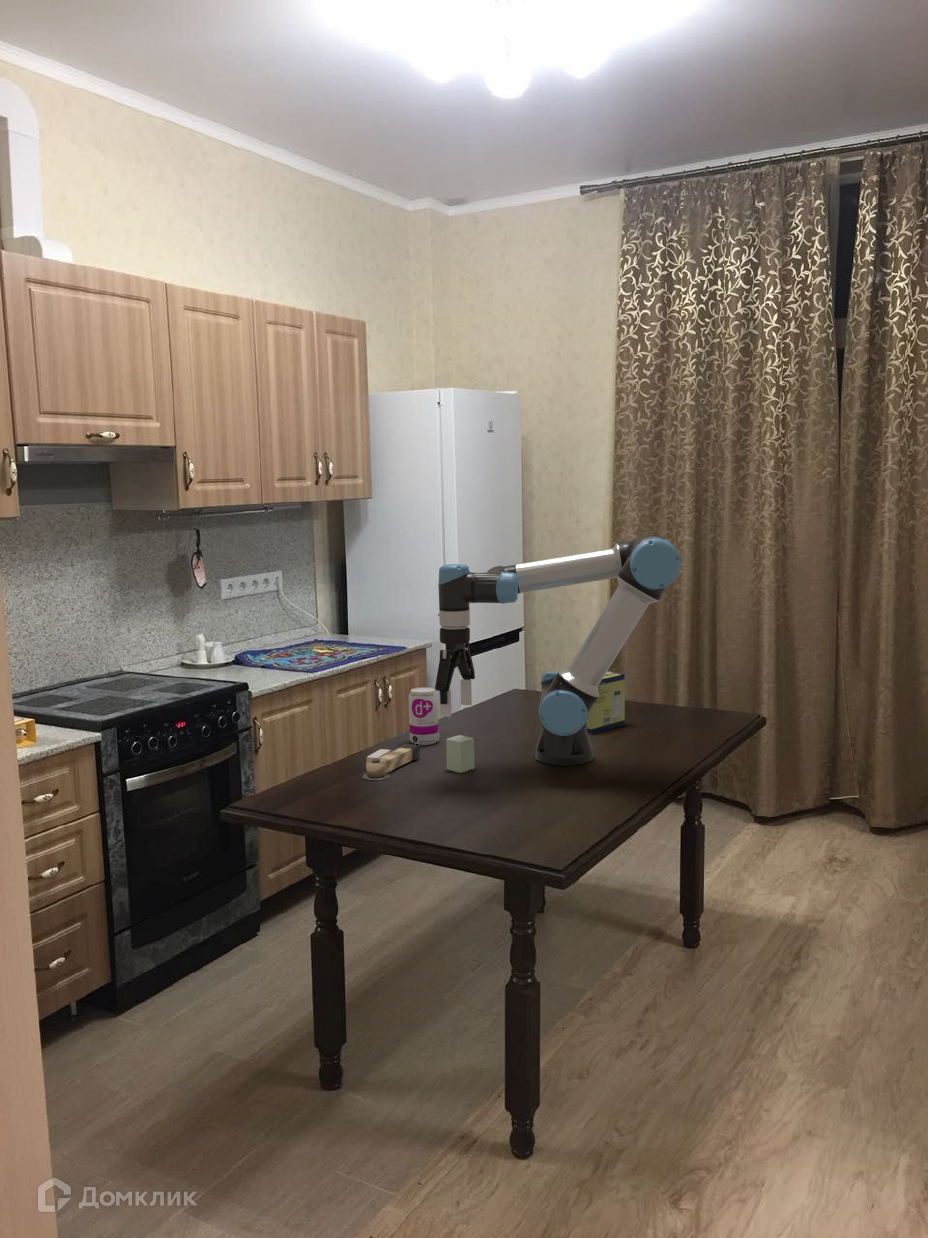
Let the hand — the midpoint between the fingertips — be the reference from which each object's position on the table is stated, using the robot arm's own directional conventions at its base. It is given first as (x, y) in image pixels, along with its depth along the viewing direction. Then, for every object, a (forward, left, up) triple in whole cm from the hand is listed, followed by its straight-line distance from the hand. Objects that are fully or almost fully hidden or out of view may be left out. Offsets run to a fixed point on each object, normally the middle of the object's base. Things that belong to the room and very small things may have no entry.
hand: (456, 710), depth 262 cm
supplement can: (+20, -24, -16) cm, 35 cm away
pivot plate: (+18, +10, -16) cm, 26 cm away
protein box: (-21, -55, -16) cm, 61 cm away
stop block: (+22, +1, -16) cm, 27 cm away
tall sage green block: (0, -3, -16) cm, 16 cm away
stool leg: (+17, +2, -15) cm, 23 cm away
